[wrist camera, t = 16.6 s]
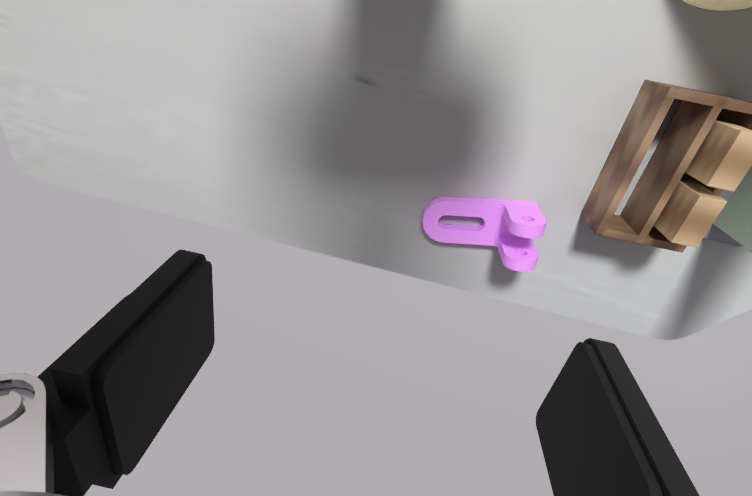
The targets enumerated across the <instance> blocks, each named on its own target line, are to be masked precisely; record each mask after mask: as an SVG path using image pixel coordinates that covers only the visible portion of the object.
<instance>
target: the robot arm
mask: <svg viewBox="0 0 752 496" xmlns="http://www.w3.org/2000/svg"><path fill="white" fill-rule="evenodd" d="M213 314H214V313H213V286H212V265H211V263H210V262H209V261H206V258H205V256H204V255H203V254H199V253H195V252H190V251H185V250H179V251H177V252H176V253H175V254H173V256H171V257H170V258H169V259H168V260H167V261H166V262H165V263H164V264H163V265H162V266H160V267H159V268H158V269H157V270H156V271H155V272H154V273H153V274H152V275H151V276H150V277H148V278H147V279H146V280H145V281H144V282H143V283H142V284H141V285H140V286H139V287H138V288H136V290H134V291H133V292H132V293H131V294H130V295H128V296H126V297H125V298H124V299H123V300H121V301H120V302H119V303H118V304H117V305H116V306H115V307H114V308H112V309H111V310H110V312H108V313H107V314H106V315H105V316H104V317H103V318H102V319H100V320H99V321H98V322H97V323H96V324H95V325H94V326H93V327H92V328H91V329H90V330H88V331H87V332H86V333H85V334H84V335H83V336H82V337H81V338H80V339H79V340H77V341H76V342H75V343H74V344H73V345H72V346H71V347H70V348H69V349H68V350H66V351H65V352H64V353H63V354H62V355H61V356H60V357H59V358H58V359H57V360H56V361H55V362H53V363H52V364H51V365H50V366H49V367H48V368H47V369H46V370H45V371H43V373H41V374H40V375H39V376H38V377H36V376H33V375H30V374H26V373H9V374H3V375H0V496H84V495H85V493H86V492H87V490H88V489H89V488H90V486H91V485H92V484H94V485H98V486H102V487H107V488H111V489H113V488H114V486H115V485H116V483H117V482H118V480H119V479H120V477H121V476H122V474H125V475H128V474H129V473H131V472H132V471H133V469H134V468H135V467H136V465H137V464H138V462H139V461H140V459H141V458H142V456H143V455H144V453H145V452H146V450H147V449H148V447H149V445H150V444H151V442H152V441H153V439H154V438H155V436H156V435H157V433H158V432H159V430H160V429H161V427H162V426H163V424H164V423H165V421H166V420H167V418H168V417H169V415H170V414H171V412H172V411H173V409H174V408H175V406H176V404H177V403H178V401H179V400H180V399H181V397H182V395H183V394H184V392H185V391H186V389H187V388H188V386H189V385H190V383H191V382H192V380H193V379H194V377H195V376H196V374H197V373H198V371H199V370H200V368H201V367H202V365H203V364H204V362H205V361H206V359H207V358H208V356H209V354H210V353H211V351H212V348H213V345H214V315H213ZM536 426H537V430H538V434H539V438H540V442H541V446H542V450H543V454H544V458H545V462H546V466H547V470H548V474H549V478H550V482H551V486H552V490H553V494H554V496H699V494H698V493H697V491H696V489H695V487H694V485H693V483H692V482H691V480H690V478H689V476H688V474H687V473H686V471H685V469H684V468H683V465H682V464H681V462H680V460H679V458H678V456H677V455H676V453H675V451H674V449H673V447H672V446H671V444H670V442H669V440H668V438H667V436H666V435H665V433H664V431H663V429H662V427H661V426H660V424H659V422H658V420H657V418H656V417H655V415H654V413H653V411H652V409H651V408H650V406H649V404H648V402H647V400H646V399H645V397H644V395H643V393H642V391H641V390H640V388H639V386H638V384H637V382H636V380H635V379H634V377H633V375H632V373H631V371H630V370H629V368H628V366H627V364H626V363H625V361H624V359H623V357H622V356H621V354H620V352H619V350H618V348H617V347H616V346H615V344H613V343H609V342H605V341H600V340H596V339H591V338H590V339H586V340H585V341H584V342H583V343H582V342H579V343H578V344H577V345H576V346H575V348H574V349H573V351H572V353H571V355H570V356H569V358H568V360H567V361H566V363H565V365H564V367H563V368H562V370H561V372H560V374H559V375H558V377H557V379H556V381H555V382H554V384H553V386H552V387H551V389H550V391H549V393H548V394H547V396H546V398H545V399H544V401H543V403H542V405H541V406H540V408H539V410H538V412H537V416H536Z"/></svg>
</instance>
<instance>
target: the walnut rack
mask: <svg viewBox="0 0 752 496" xmlns="http://www.w3.org/2000/svg"><path fill="white" fill-rule="evenodd" d="M674 99H680V100H682V101H681V103H680V105H679V107H678V109H677V111H676V113H675V114H674V116H673V118H672V120H671V122H670V124H669V126H668V127H667V129H666V131H665V133H664V135H663V137H662V139H661V141H660V142H659V144H658V146H657V148H656V150H655V152H654V154H653V155H652V157H651V159H650V161H649V163H648V165H647V167H646V168H645V170H644V172H643V174H642V176H641V178H640V180H639V182H638V183H637V185H636V187H635V189H634V191H633V193H632V195H631V196H630V198H629V200H628V202H627V204H626V206H625V208H624V210H623V211H622V213H621V215H620V216H618V215H614V213H615V211H616V209H617V207H618V205H619V203H620V202H621V200H622V198H623V196H624V194H625V192H626V190H627V188H628V186H629V184H630V182H631V181H632V179H633V177H634V175H635V173H636V171H637V169H638V167H639V165H640V163H641V162H642V160H643V158H644V156H645V154H646V152H647V150H648V148H649V146H650V144H651V143H652V141H653V139H654V137H655V135H656V133H657V131H658V129H659V127H660V125H661V124H662V122H663V120H664V118H665V116H666V114H667V112H668V110H669V108H670V106H671V105H672V103H673V101H674ZM722 108H723V109H724V111H723V113H722V115H721V116H720V118H719V119H722V120H725V121H728V122H730V123H733V124H736V125H739V126H742V127H744V128H747V129H750V130H752V102H749V101H745V100H741V99H737V98H732V97H727V96H723V95H718V94H713V93H708V92H703V91H698V90H693V89H688V88H684V87H679V86H674V85H669V84H664V83H659V82H654V81H649V80H645V81H644V83H643V85H642V87H641V90H640V92H639V94H638V96H637V98H636V100H635V102H634V104H633V106H632V108H631V110H630V112H629V115H628V117H627V119H626V121H625V123H624V125H623V127H622V129H621V131H620V133H619V135H618V137H617V140H616V142H615V144H614V146H613V148H612V150H611V152H610V154H609V156H608V158H607V160H606V162H605V165H604V167H603V169H602V171H601V173H600V175H599V177H598V179H597V181H596V183H595V185H594V187H593V190H592V192H591V194H590V196H589V198H588V200H587V202H586V204H585V206H584V208H583V210H582V212H581V216H582V217H583V218H584V220H585V221H586V222H587V224H588V225H589V226H590V228H591V229H592V230H593V232H594V233H595V234H598V235H602V236H607V237H612V238H616V239H621V240H626V241H631V242H635V243H640V244H645V245H649V246H654V247H659V248H663V249H668V250H673V251H678V252H683V251H684V249H685V248H686V245H681V244H677V243H672V242H670V241H669V240H668V239H667V238H666V237H665V236H664V235H663V234H662V233H661V232H660V231H659V230H658V229H657V228H656V227H655V226H653V225H654V224H655V222H656V220H657V218H658V217H659V215H660V213H661V212H662V210H663V208H664V207H665V205H666V203H667V202H668V200H669V198H670V196H671V195H672V193H673V191H674V190H675V188H676V186H677V185H678V183H679V181H680V180H681V178H682V176H683V174H684V173H685V171H686V169H687V168H688V166H689V164H690V163H691V161H692V159H693V158H694V156H695V154H696V152H697V151H698V149H699V147H700V146H701V144H702V142H703V141H704V139H705V137H706V135H707V134H708V132H709V130H710V129H711V127H712V125H713V124H714V122H715V120H716V119H717V117H718V115H719V113H720V112H721V110H722ZM686 176H688V177H690V178H691V179H693V180H694V181H696V182H698V183H699V184H701V185H702V186H704V187H705V188H707V189H709V190H710V191H712V192H713V193H715V194H717V195H718V196H720V194H721V193H722V191H723V190H724V189H720V188H715V187H711V186H706V185H705V184H703V183H702V182H700V181H698V180H697V179H695V178H694V177H692V176H690V175H689V174H687V173H686Z"/></svg>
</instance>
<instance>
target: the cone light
mask: <svg viewBox="0 0 752 496" xmlns="http://www.w3.org/2000/svg"><path fill="white" fill-rule="evenodd" d="M682 1H684V2H686V3H687V4H690V5H693V6H696V7H699V8H702V9H707V10H717V11H729V10H740V9H746V8H749V7H752V0H682Z"/></svg>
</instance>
